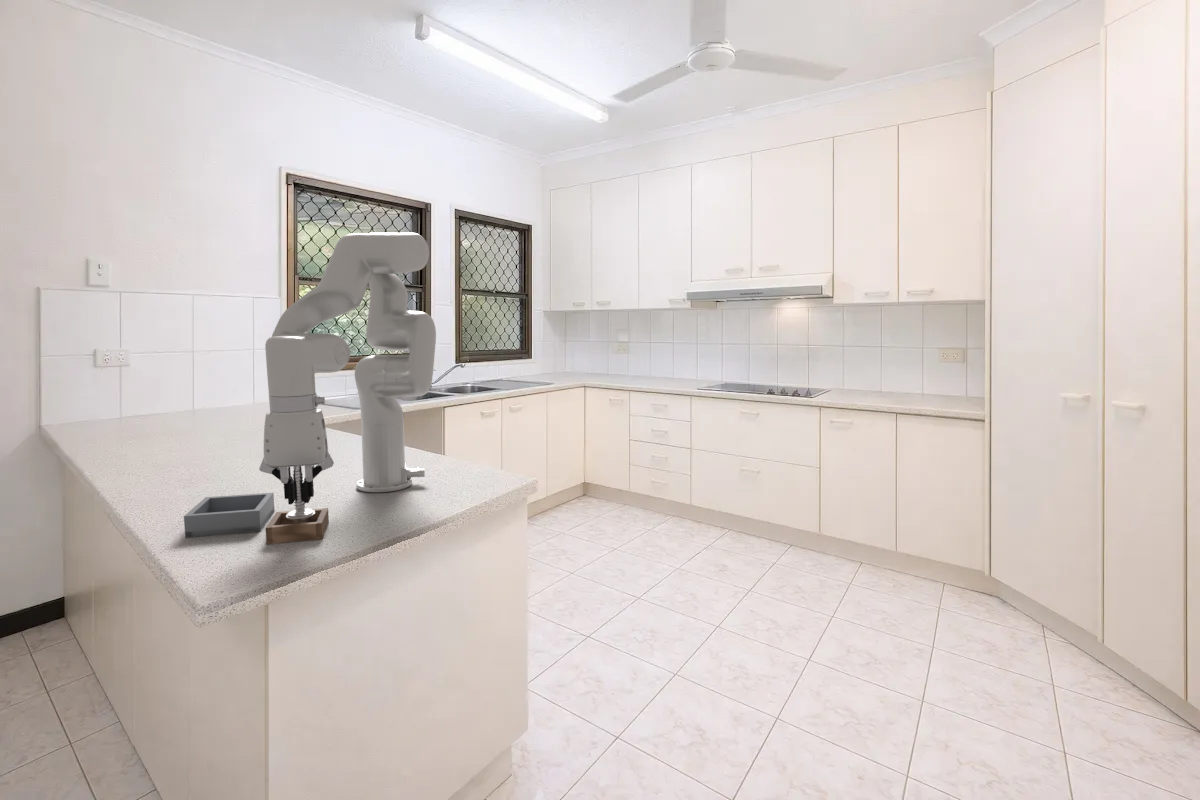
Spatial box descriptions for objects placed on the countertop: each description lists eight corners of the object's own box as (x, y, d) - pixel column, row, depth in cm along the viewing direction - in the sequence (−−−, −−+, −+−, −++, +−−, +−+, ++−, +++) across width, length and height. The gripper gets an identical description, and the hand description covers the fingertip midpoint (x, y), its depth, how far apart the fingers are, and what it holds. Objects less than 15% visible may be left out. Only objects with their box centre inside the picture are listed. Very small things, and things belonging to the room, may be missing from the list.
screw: (282, 525, 107) (308, 518, 110) (293, 531, 104) (320, 524, 107) (277, 457, 105) (304, 452, 108) (288, 462, 102) (316, 457, 105)
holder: (328, 522, 112) (328, 508, 112) (322, 539, 104) (321, 523, 103) (277, 527, 109) (276, 512, 109) (266, 544, 101) (265, 527, 100)
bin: (274, 511, 118) (273, 492, 118) (260, 531, 107) (259, 510, 107) (207, 516, 115) (205, 497, 114) (185, 537, 103) (183, 516, 103)
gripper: (343, 399, 110) (347, 491, 112) (248, 402, 105) (256, 499, 107) (338, 405, 103) (344, 504, 105) (237, 409, 98) (245, 512, 100)
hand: (299, 500), depth 106 cm, fingers closed on screw, 2 cm apart
